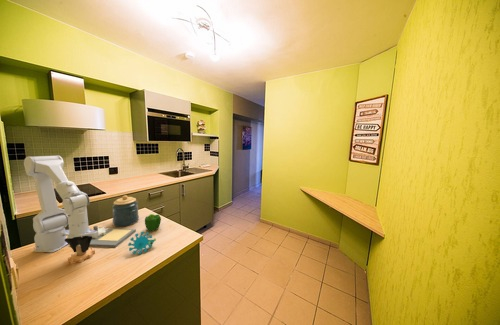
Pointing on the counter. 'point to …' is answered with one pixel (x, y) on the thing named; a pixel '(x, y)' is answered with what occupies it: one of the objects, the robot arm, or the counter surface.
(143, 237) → the teal virus toy
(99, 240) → the gear board
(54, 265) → the counter surface
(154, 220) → the bell pepper
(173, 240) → the counter surface
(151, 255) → the counter surface
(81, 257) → the wood gear
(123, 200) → the canister
